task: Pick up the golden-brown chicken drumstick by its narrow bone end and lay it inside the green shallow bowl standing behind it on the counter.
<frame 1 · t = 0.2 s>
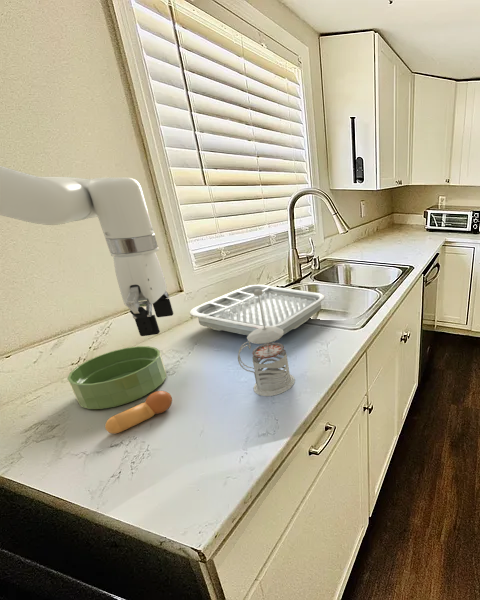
hand: (158, 324, 69), 19 cm above the worktop, tool pointing down, fingers open, 9 cm apart
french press: (270, 385, 81), on the worktop
dish rack: (264, 322, 116), on the worktop
green shallow bowl: (125, 387, 80), on the worktop
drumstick: (151, 415, 71), on the worktop
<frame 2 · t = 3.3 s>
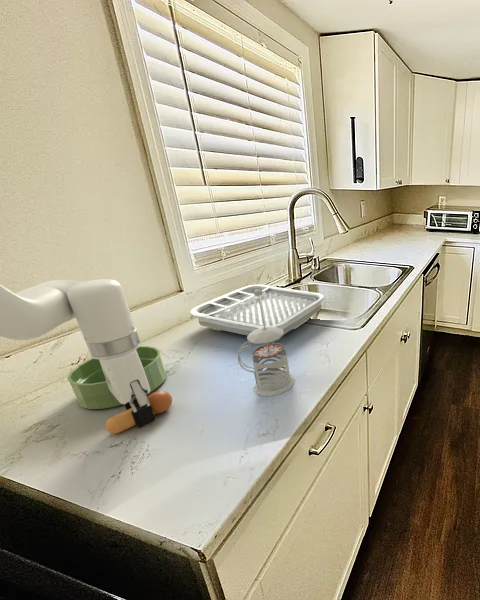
hand: (142, 418, 69), 0 cm above the worktop, tool pointing down, fingers closed on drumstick, 3 cm apart
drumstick: (151, 415, 71), on the worktop, touching gripper
everything else where it was.
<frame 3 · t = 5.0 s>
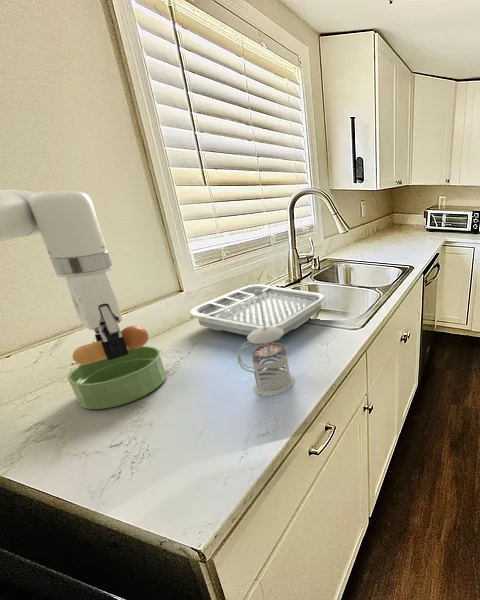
hand: (114, 352, 65), 16 cm above the worktop, tool pointing down, fingers closed on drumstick, 3 cm apart
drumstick: (125, 351, 66), point 16 cm above the worktop, touching gripper
everything else where it was.
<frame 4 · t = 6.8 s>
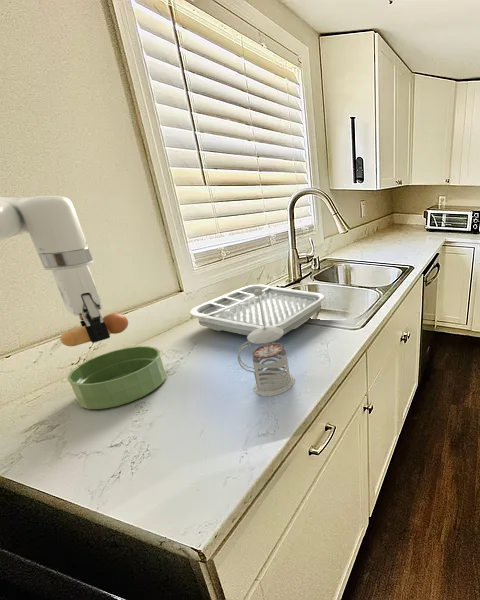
hand: (98, 336, 74), 15 cm above the worktop, tool pointing down, fingers closed on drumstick, 3 cm apart
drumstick: (107, 335, 75), point 14 cm above the worktop, touching gripper
everything else where it was.
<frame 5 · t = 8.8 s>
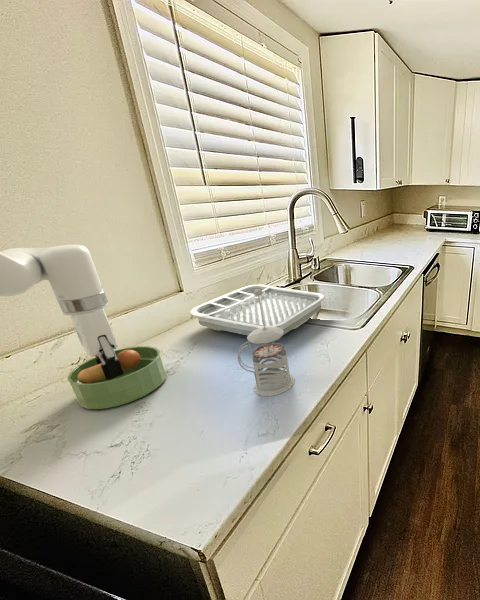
hand: (112, 373, 77), 5 cm above the worktop, tool pointing down, fingers closed on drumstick, 3 cm apart
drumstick: (121, 371, 79), point 5 cm above the worktop, touching gripper
everything else where it was.
when the fingers open (1 cm above the worktop, at t = 10.2 s): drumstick stays where it is, resting on green shallow bowl.
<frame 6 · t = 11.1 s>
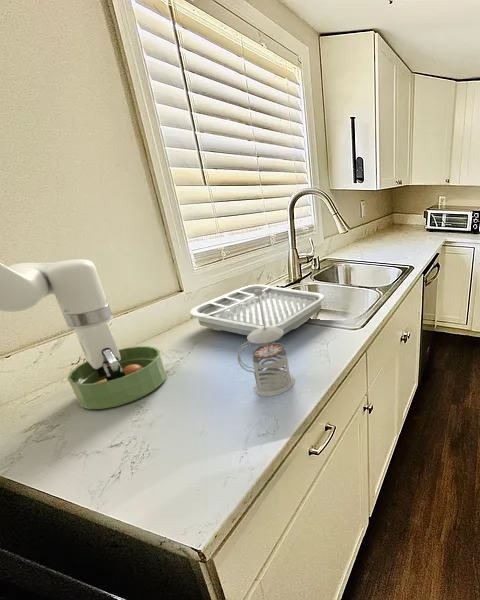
hand: (113, 380, 78), 3 cm above the worktop, tool pointing down, fingers open, 9 cm apart
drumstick: (125, 385, 80), point 1 cm above the worktop, tilted 7°, touching green shallow bowl
everything else where it was.
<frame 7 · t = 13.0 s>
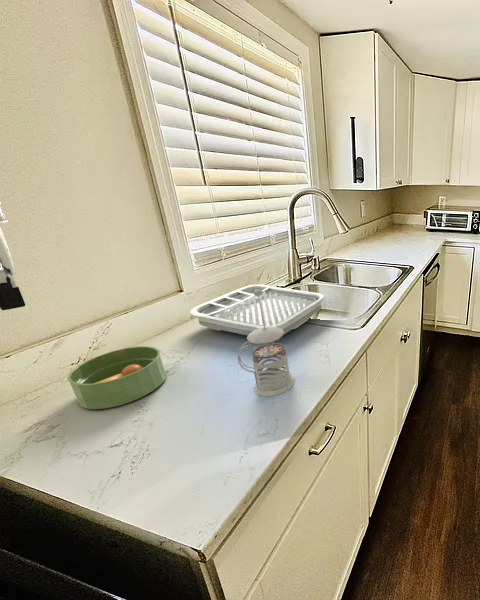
hand: (10, 302, 66), 25 cm above the worktop, tool pointing down, fingers open, 9 cm apart
nothing on the worktop moved.
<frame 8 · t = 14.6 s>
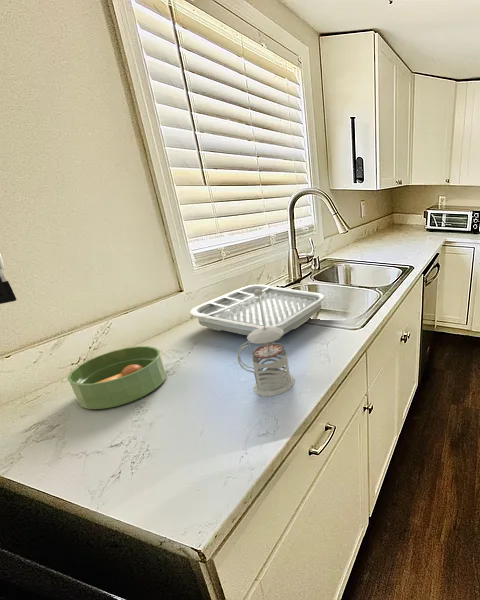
hand: (1, 297, 65), 26 cm above the worktop, tool pointing down, fingers open, 9 cm apart
nothing on the worktop moved.
at the end: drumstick inside the target area in the green shallow bowl (0.1 cm from its centre), point 0.6 cm above the green shallow bowl's base; the gripper is holding nothing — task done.
